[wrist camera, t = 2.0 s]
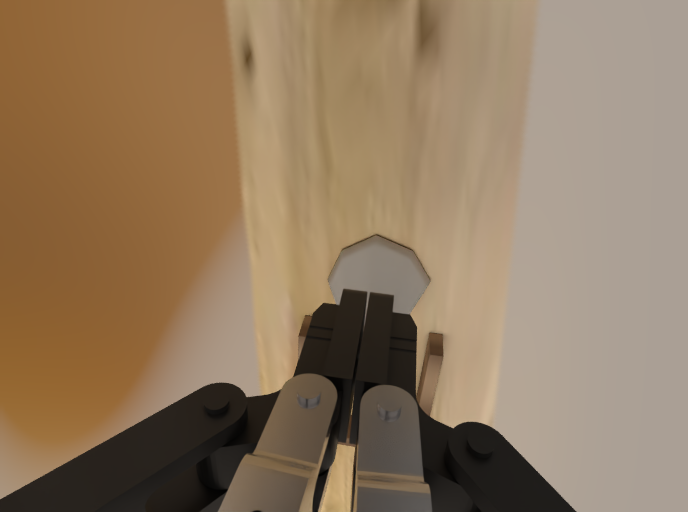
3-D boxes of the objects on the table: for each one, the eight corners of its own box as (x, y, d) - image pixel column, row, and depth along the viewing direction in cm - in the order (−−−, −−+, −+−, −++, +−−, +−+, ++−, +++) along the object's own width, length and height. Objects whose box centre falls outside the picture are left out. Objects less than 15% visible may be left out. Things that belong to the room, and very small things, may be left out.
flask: (375, 217, 34) (359, 303, 25) (448, 279, 36) (455, 379, 27) (311, 277, 37) (279, 370, 29) (380, 330, 39) (369, 434, 31)
